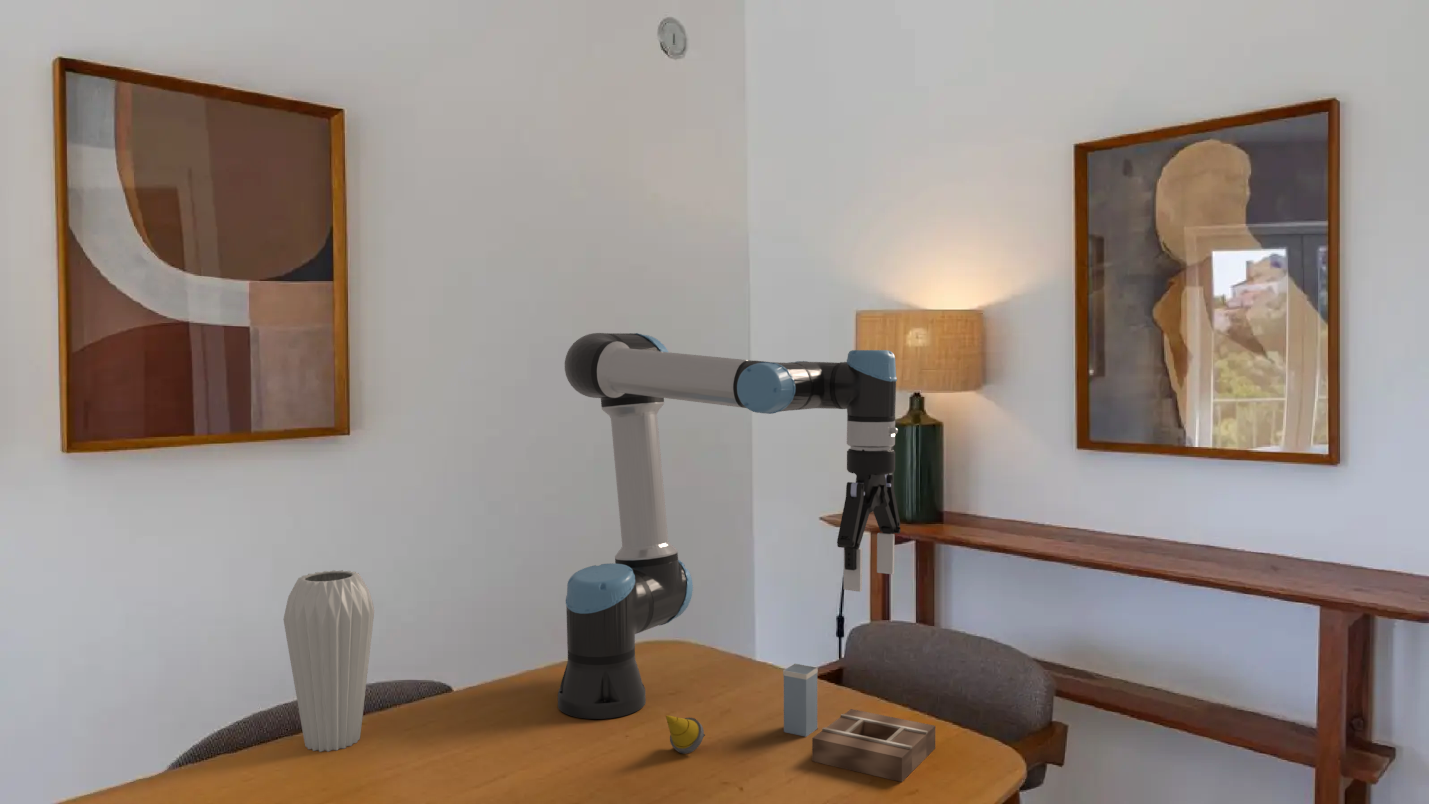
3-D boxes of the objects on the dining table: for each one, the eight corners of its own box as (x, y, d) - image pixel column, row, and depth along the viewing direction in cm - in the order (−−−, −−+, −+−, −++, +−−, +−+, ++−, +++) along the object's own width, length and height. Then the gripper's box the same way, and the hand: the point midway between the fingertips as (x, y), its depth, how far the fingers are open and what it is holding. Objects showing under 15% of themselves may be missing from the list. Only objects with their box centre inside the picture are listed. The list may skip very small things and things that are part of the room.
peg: (783, 732, 158) (783, 670, 157) (795, 723, 161) (794, 663, 161) (806, 737, 155) (806, 674, 155) (817, 728, 159) (817, 667, 158)
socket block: (812, 761, 146) (812, 736, 146) (851, 730, 158) (850, 707, 158) (901, 782, 139) (901, 755, 138) (935, 748, 151) (935, 723, 150)
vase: (395, 733, 158) (392, 571, 157) (331, 764, 146) (327, 589, 145) (334, 721, 164) (330, 564, 162) (267, 750, 152) (262, 581, 150)
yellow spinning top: (714, 754, 150) (683, 725, 144) (683, 766, 151) (651, 737, 145) (709, 723, 154) (680, 693, 148) (679, 735, 155) (649, 706, 149)
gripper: (862, 456, 142) (861, 601, 143) (920, 442, 163) (919, 569, 164) (815, 453, 146) (814, 594, 147) (878, 440, 167) (876, 564, 168)
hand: (869, 581), depth 156 cm, fingers open, 13 cm apart
